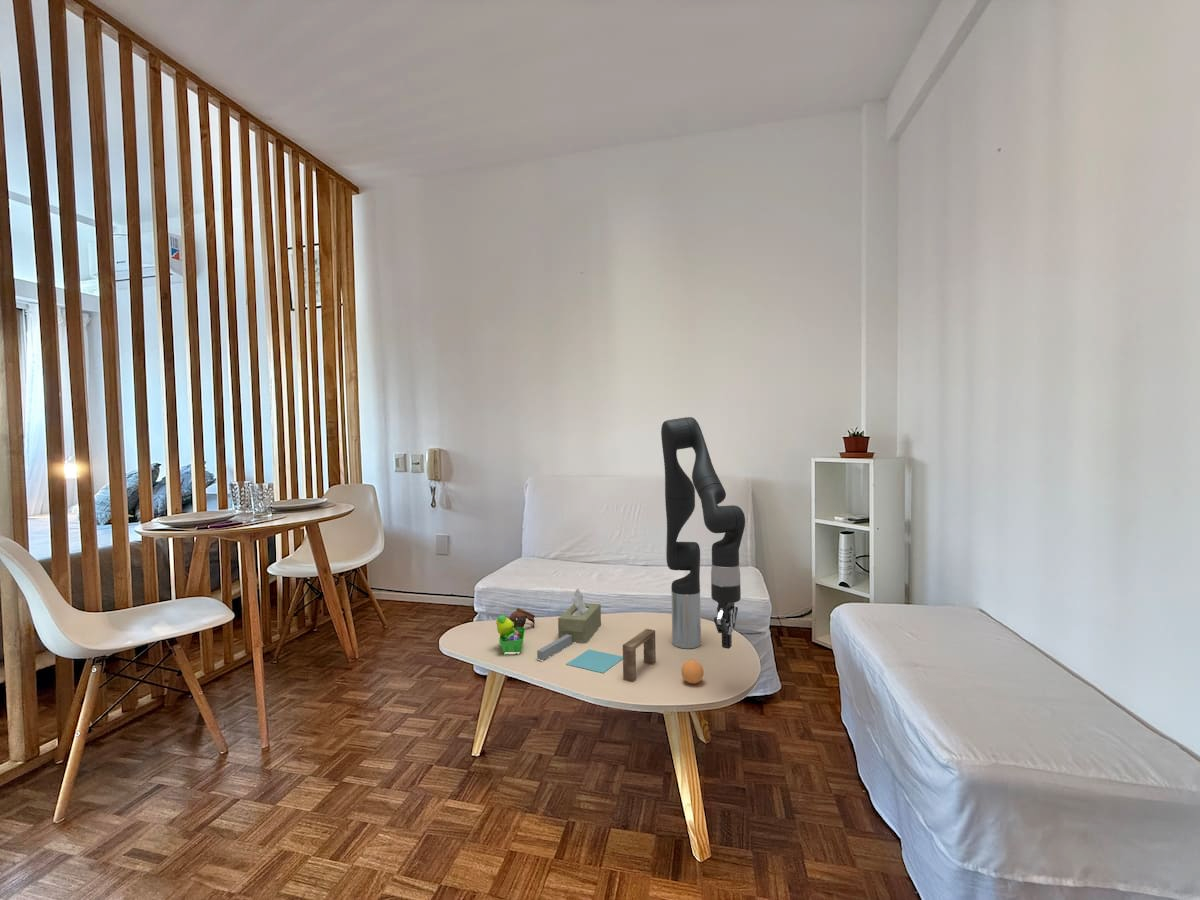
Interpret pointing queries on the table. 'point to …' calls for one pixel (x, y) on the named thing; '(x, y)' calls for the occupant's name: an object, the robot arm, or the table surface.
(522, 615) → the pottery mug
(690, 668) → the orange ball
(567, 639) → the stopper wall
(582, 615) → the tissue box
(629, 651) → the bridge
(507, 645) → the fruit basket
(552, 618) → the table surface
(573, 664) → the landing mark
